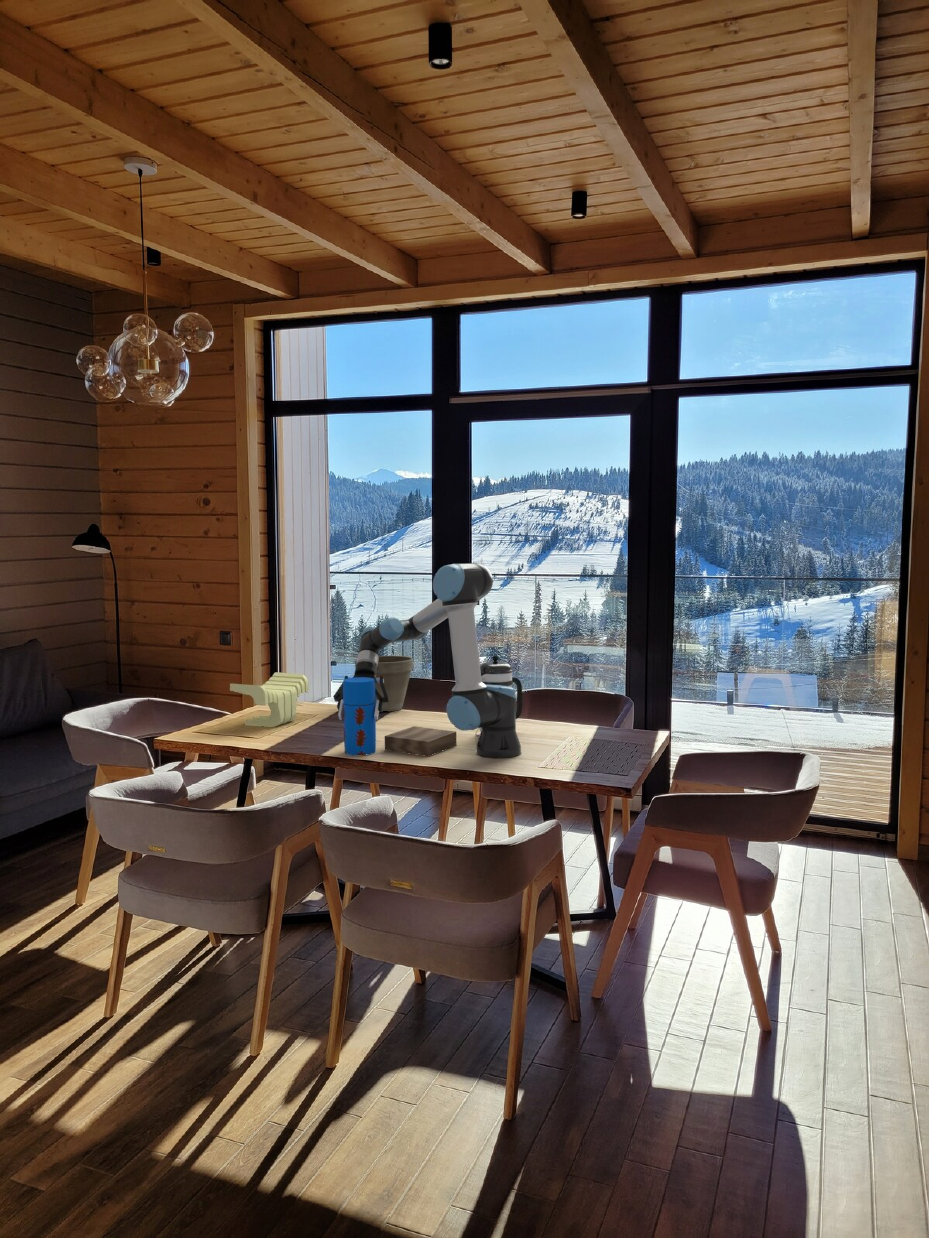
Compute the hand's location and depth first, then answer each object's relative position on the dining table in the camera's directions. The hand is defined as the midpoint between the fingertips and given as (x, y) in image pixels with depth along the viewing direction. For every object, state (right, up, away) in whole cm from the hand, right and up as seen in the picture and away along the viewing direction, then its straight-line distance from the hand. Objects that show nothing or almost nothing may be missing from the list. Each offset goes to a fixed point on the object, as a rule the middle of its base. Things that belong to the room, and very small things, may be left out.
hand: (357, 717), depth 309 cm
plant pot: (+2, -5, +80) cm, 81 cm away
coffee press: (+48, -10, +27) cm, 56 cm away
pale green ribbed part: (-40, -8, +52) cm, 67 cm away
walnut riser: (+21, -11, +9) cm, 25 cm away
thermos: (0, -12, +4) cm, 13 cm away
